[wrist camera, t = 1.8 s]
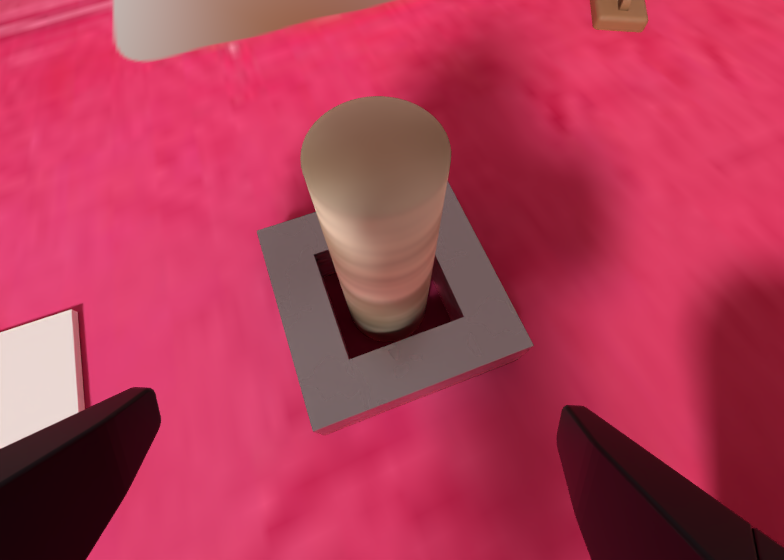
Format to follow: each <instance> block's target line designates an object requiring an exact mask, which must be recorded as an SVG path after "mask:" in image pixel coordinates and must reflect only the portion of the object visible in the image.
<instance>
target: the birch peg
mask: <svg viewBox="0 0 784 560" xmlns="http://www.w3.org/2000/svg"><path fill="white" fill-rule="evenodd" d="M450 163H451V147H450V142H449V139H448V136H447V134H446V132H445V130H444V129H443V127H442V125H441V124H440V123H439V122H438V121H437V119H436V118H435V117H434V116H432V115H431V114H430V113H429V112H427V111H426V110H425V109H423V108H421V107H419V106H418V105H416V104H414V103H411V102H408V101H406V100H402V99H398V98H392V97H382V96H374V97H364V98H358V99H354V100H351V101H348V102H345V103H342V104H340V105H338V106H336V107H334V108H332V109H331V110H329V111H328V112H326V113H325V114H324V115H322V116H321V117H320V118H319V119H318V120H317V121H316V122H315V123H314V124H313V126H312V127H311V128H310V130H309V131H308V133H307V135H306V137H305V139H304V142H303V145H302V149H301V168H302V172H303V175H304V178H305V181H306V184H307V187H308V190H309V193H310V196H311V199H312V202H313V205H314V208H315V211H316V214H317V217H318V220H319V223H320V226H321V228H322V231H323V234H324V237H325V240H326V243H327V246H328V249H329V252H330V255H331V258H332V261H333V264H334V267H335V270H336V273H337V276H338V279H339V282H340V285H341V288H342V291H343V294H344V297H345V299H346V302H347V305H348V308H349V311H350V314H351V317H352V320H353V322H354V324H355V325H356V327H357V328H358V329H359V330H360V331H361V332H362V333H363V334H364V335H366V336H367V337H369V338H371V339H374V340H377V341H382V342H393V341H398V340H401V339H404V338H406V337H407V336H409V335H411V334H412V333H413V332H414V331H415V330H416V329H417V328H418V327H419V326H420V324H421V322H422V320H423V318H424V315H425V311H426V305H427V299H428V293H429V287H430V281H431V275H432V269H433V264H434V258H435V252H436V246H437V240H438V234H439V228H440V222H441V216H442V210H443V204H444V198H445V193H446V187H447V181H448V175H449V169H450Z"/></svg>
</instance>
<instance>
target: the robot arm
mask: <svg viewBox="0 0 784 560" xmlns="http://www.w3.org/2000/svg"><path fill="white" fill-rule="evenodd" d="M160 423H161V416H160V412H159V407H158V403H157V399H156V394H155V392H154V390H153V389H151V388H143V387H133V388H130V389H128V390H126V391H123V392H121V393H119V394H117V395H115V396H113V397H110V398H108V399H106V400H104V401H102V402H100V403H98V404H95V405H93V406H91V407H89V408H87V409H85V410H83V411H80V412H78V413H76V414H74V415H72V416H70V417H67V418H65V419H63V420H61V421H59V422H57V423H55V424H52V425H50V426H48V427H46V428H44V429H42V430H40V431H37V432H35V433H33V434H31V435H29V436H27V437H24V438H22V439H20V440H18V441H16V442H14V443H12V444H9V445H7V446H5V447H3V448H1V449H0V560H86V559H87V557H88V555H89V554H90V552H91V551H92V549H93V547H94V546H95V544H96V542H97V541H98V539H99V538H100V536H101V534H102V533H103V531H104V530H105V528H106V526H107V525H108V523H109V522H110V520H111V518H112V517H113V515H114V514H115V512H116V510H117V509H118V507H119V505H120V504H121V502H122V500H123V499H124V497H125V495H126V494H127V492H128V490H129V488H130V486H131V484H132V482H133V480H134V478H135V476H136V474H137V472H138V470H139V468H140V466H141V464H142V462H143V460H144V458H145V456H146V454H147V452H148V450H149V448H150V446H151V444H152V442H153V440H154V438H155V436H156V434H157V432H158V430H159V427H160ZM557 448H558V452H559V455H560V459H561V463H562V467H563V471H564V475H565V478H566V482H567V486H568V490H569V494H570V498H571V502H572V505H573V509H574V512H575V516H576V519H577V522H578V525H579V527H580V530H581V533H582V535H583V538H584V541H585V543H586V546H587V549H588V551H589V554H590V557H591V559H592V560H784V547H782V546H781V545H779V544H778V543H777V542H775V541H774V540H772V539H771V538H770V537H768V536H767V535H765V534H764V533H763V532H761V531H760V530H758V529H757V528H752V526H751V524H750V523H748V522H747V521H745V520H744V519H743V518H741V517H740V516H738V515H737V514H736V513H734V512H733V511H731V510H730V509H729V508H727V507H726V506H724V505H723V504H722V503H720V502H719V501H717V500H716V499H714V498H713V497H712V496H710V495H709V494H707V493H706V492H705V491H703V490H702V489H700V488H699V487H698V486H696V485H695V484H693V483H692V482H691V481H689V480H688V479H686V478H685V477H683V476H682V475H681V474H679V473H678V472H676V471H675V470H674V469H672V468H671V467H669V466H668V465H667V464H665V463H664V462H662V461H661V460H660V459H658V458H657V457H655V456H654V455H652V454H651V453H650V452H648V451H647V450H645V449H644V448H643V447H641V446H640V445H638V444H637V443H636V442H634V441H633V440H631V439H630V438H629V437H627V436H626V435H624V434H623V433H621V432H620V431H619V430H617V429H616V428H614V427H613V426H612V425H610V424H609V423H607V422H606V421H605V420H603V419H602V418H600V417H599V416H598V415H596V414H595V413H593V412H592V411H590V410H589V409H588V408H586V407H584V406H574V405H566V406H565V407H563V409H562V412H561V417H560V422H559V427H558V431H557Z"/></svg>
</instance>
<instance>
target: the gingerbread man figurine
mask: <svg viewBox="0 0 784 560" xmlns="http://www.w3.org/2000/svg"><path fill="white" fill-rule="evenodd" d="M590 5H591V15H592V24H593V28H594V29H597V30H611V31H627V32H642V31H643V30H644V28H645V26H646V24H647V22H648V16H647V10H646V5H645V0H590Z"/></svg>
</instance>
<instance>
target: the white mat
mask: <svg viewBox="0 0 784 560" xmlns="http://www.w3.org/2000/svg"><path fill="white" fill-rule="evenodd" d="M83 410H85V404H84V390H83V377H82V364H81V350H80V337H79V324H78V312H76V311H74V310H72V309H71V310H68V311H64V312H61V313H58V314H55V315H52V316H49V317H46V318H43V319H40V320H37V321H34V322H31V323H28V324H25V325H22V326H19V327H15V328H12V329H9V330H6V331H3V332H0V449H1V448H3V447H5V446H7V445H9V444H12V443H14V442H16V441H18V440H20V439H22V438H24V437H27V436H29V435H31V434H33V433H35V432H37V431H40V430H42V429H44V428H46V427H48V426H50V425H52V424H55V423H57V422H59V421H61V420H63V419H65V418H67V417H70V416H72V415H74V414H76V413H78V412H80V411H83Z"/></svg>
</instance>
